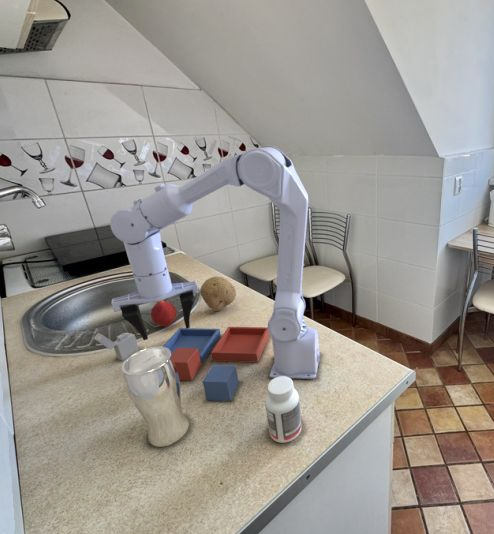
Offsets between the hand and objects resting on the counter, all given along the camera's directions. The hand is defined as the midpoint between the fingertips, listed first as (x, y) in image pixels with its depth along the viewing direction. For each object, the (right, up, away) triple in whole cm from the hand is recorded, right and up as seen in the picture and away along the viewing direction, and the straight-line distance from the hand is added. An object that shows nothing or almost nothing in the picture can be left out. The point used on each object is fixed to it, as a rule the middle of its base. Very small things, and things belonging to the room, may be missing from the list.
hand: (167, 331), depth 66 cm
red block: (+3, -9, +2) cm, 10 cm away
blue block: (+13, -11, -3) cm, 17 cm away
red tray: (+12, -6, +10) cm, 17 cm away
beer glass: (+6, -15, -11) cm, 20 cm away
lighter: (-14, -8, +7) cm, 17 cm away
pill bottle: (+26, -15, -11) cm, 32 cm away
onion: (-10, -3, +19) cm, 21 cm away
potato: (+2, +1, +26) cm, 26 cm away
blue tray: (0, -6, +10) cm, 11 cm away
